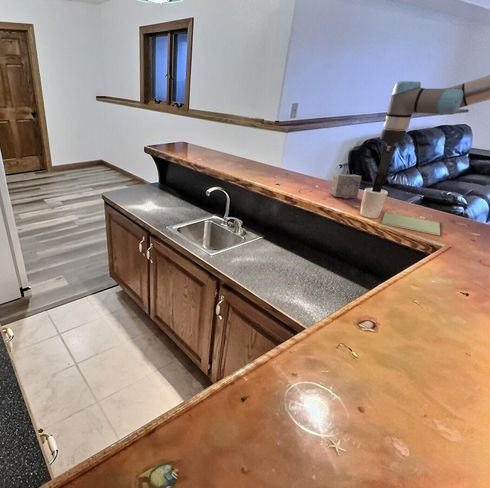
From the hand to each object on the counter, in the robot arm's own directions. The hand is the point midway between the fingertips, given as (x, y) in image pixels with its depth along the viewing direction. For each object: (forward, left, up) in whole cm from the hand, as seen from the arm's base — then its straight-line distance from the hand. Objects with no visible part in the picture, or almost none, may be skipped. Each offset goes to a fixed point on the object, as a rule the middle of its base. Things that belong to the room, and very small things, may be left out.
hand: (378, 187), depth 133 cm
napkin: (-14, 0, -11) cm, 18 cm away
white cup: (0, 0, -12) cm, 12 cm away
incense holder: (+13, -18, -12) cm, 25 cm away
